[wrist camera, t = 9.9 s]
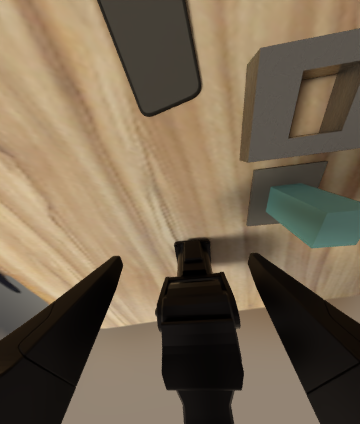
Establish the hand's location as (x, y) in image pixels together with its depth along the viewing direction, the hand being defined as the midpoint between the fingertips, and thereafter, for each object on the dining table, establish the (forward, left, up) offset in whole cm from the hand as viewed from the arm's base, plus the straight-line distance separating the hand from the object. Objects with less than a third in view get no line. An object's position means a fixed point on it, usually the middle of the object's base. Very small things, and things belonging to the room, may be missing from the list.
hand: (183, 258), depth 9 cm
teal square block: (-2, -14, -12) cm, 19 cm away
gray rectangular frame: (+9, -14, -12) cm, 21 cm away
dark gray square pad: (-2, -14, -12) cm, 19 cm away
